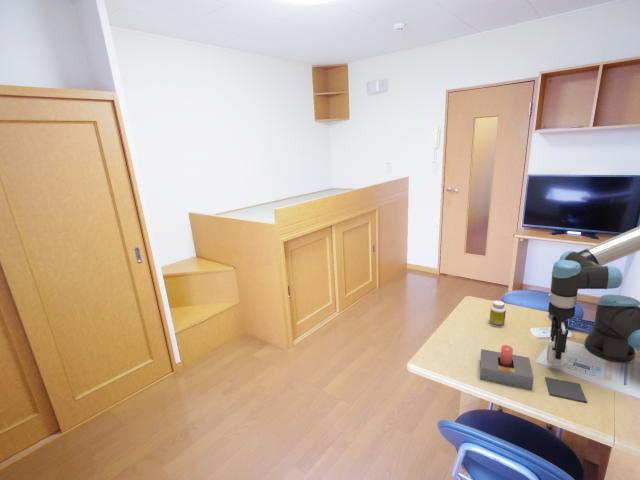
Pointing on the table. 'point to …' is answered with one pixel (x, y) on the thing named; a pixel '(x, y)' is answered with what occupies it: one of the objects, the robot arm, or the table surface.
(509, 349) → the plunger
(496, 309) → the pill bottle
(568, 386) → the mat
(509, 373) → the grey flat block
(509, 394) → the table surface
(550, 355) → the eye dropper bottle
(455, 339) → the table surface
